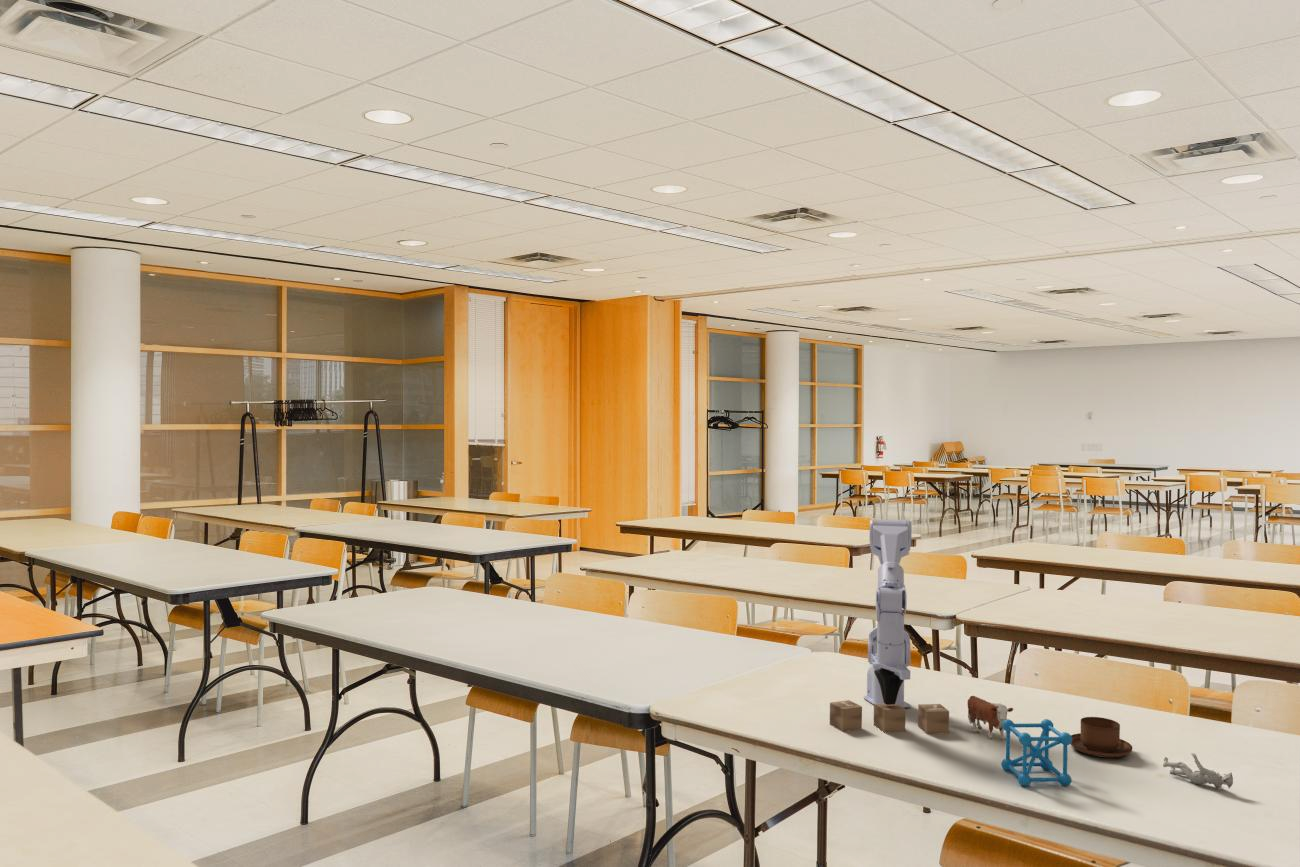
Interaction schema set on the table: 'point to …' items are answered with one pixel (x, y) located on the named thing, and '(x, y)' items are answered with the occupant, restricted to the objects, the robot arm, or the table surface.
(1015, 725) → the molecular structure
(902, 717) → the plain cube
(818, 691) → the table surface
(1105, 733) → the cup and saucer
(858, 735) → the table surface
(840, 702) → the cube one
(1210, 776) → the soldier figure
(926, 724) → the cube seven
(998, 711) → the bull figurine
